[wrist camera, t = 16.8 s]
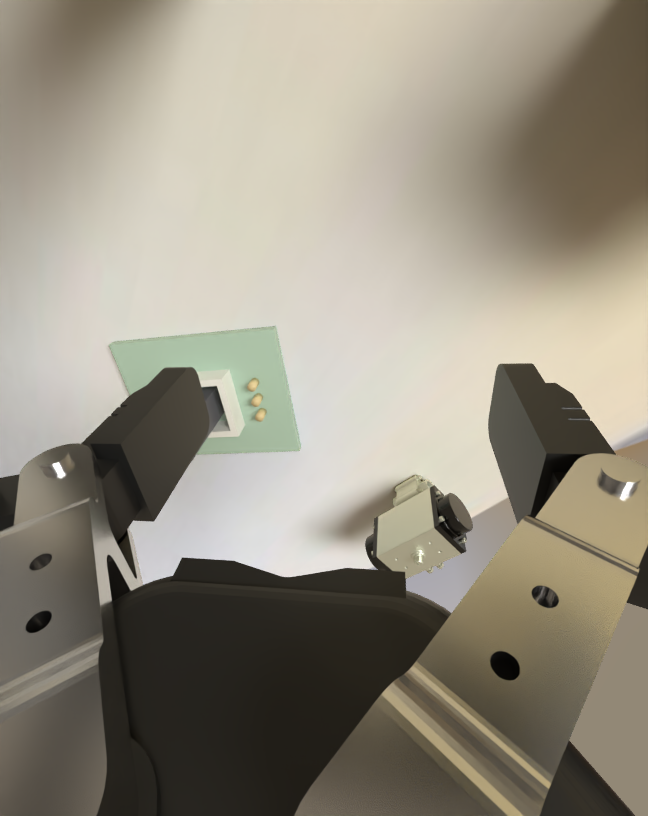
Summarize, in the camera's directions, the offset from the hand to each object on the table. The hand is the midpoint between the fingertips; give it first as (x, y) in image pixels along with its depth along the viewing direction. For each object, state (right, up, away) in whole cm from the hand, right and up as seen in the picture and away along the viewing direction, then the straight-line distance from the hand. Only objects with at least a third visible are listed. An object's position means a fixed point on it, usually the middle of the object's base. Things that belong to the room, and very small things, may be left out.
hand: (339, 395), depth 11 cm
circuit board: (-14, +1, +40) cm, 42 cm away
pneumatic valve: (+12, -11, +43) cm, 46 cm away
